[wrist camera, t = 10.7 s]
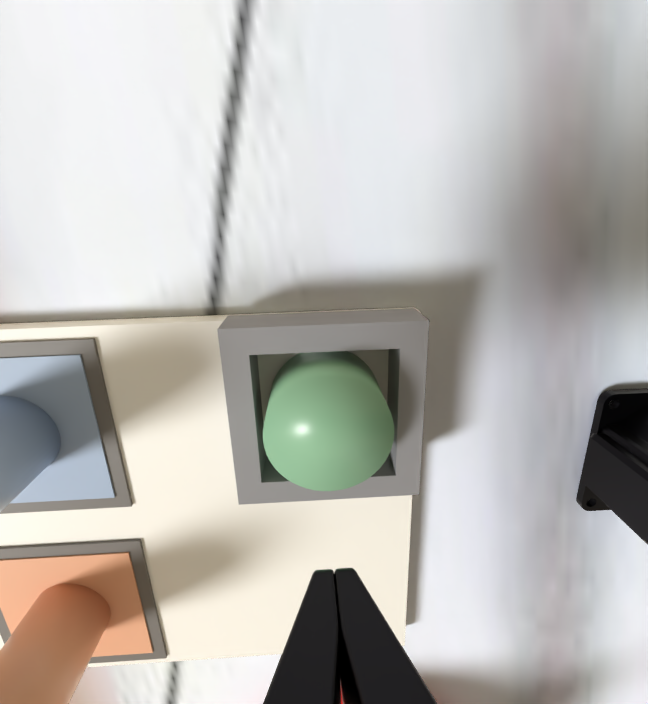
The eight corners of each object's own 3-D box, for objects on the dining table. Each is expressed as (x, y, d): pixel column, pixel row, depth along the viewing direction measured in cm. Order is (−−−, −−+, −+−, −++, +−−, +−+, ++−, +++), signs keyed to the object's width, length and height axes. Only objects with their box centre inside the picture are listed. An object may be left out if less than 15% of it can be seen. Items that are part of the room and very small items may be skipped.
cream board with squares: (415, 302, 17) (438, 320, 14) (400, 628, 23) (413, 685, 20) (-123, 323, 16) (-215, 346, 13) (13, 653, 22) (-30, 717, 19)
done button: (380, 344, 16) (396, 372, 13) (378, 443, 17) (392, 487, 15) (266, 349, 16) (257, 378, 13) (274, 448, 17) (267, 494, 14)
